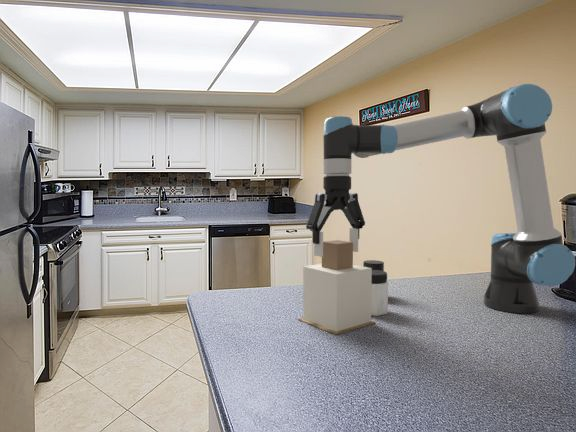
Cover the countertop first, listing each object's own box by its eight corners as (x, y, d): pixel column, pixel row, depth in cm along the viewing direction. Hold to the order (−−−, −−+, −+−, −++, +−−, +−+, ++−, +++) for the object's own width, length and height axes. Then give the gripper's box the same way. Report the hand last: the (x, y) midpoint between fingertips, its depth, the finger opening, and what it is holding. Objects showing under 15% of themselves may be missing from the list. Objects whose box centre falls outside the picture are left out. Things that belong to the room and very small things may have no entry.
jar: (371, 318, 118) (372, 276, 117) (352, 311, 124) (352, 271, 124) (393, 312, 123) (394, 272, 122) (373, 306, 129) (374, 268, 129)
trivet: (375, 323, 113) (375, 321, 113) (335, 335, 104) (335, 333, 104) (336, 310, 125) (336, 309, 125) (298, 320, 116) (298, 318, 116)
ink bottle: (393, 297, 139) (393, 262, 138) (374, 302, 134) (374, 265, 134) (371, 291, 147) (372, 258, 146) (353, 295, 142) (354, 261, 142)
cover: (371, 321, 113) (372, 242, 112) (336, 331, 105) (336, 246, 104) (337, 310, 124) (337, 238, 122) (303, 318, 116) (303, 241, 114)
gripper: (358, 176, 122) (357, 248, 124) (292, 174, 107) (292, 256, 109) (378, 175, 116) (377, 251, 118) (311, 174, 101) (311, 260, 103)
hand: (336, 253), depth 113 cm, fingers open, 13 cm apart
